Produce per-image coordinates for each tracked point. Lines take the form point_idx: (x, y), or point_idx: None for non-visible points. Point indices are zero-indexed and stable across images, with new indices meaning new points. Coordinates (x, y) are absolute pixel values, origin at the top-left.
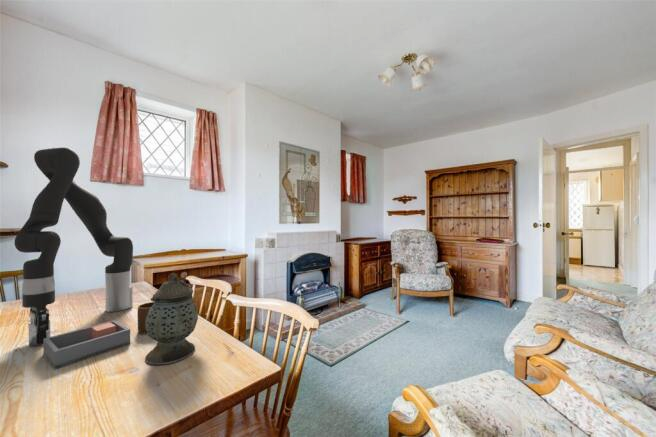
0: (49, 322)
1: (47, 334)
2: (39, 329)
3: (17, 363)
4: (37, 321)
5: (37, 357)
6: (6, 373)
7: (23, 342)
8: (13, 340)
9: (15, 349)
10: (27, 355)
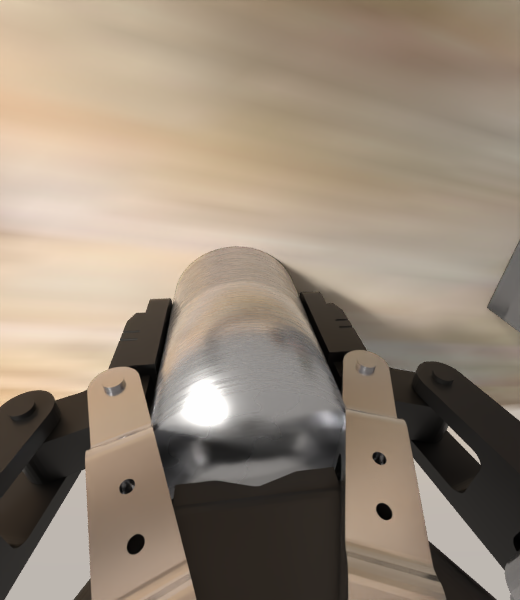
0: (315, 385)
1: (300, 308)
2: (453, 439)
3: None
4: (499, 558)
5: (484, 328)
6: (515, 406)
7: None
8: (6, 398)
9: None
10: (397, 356)
